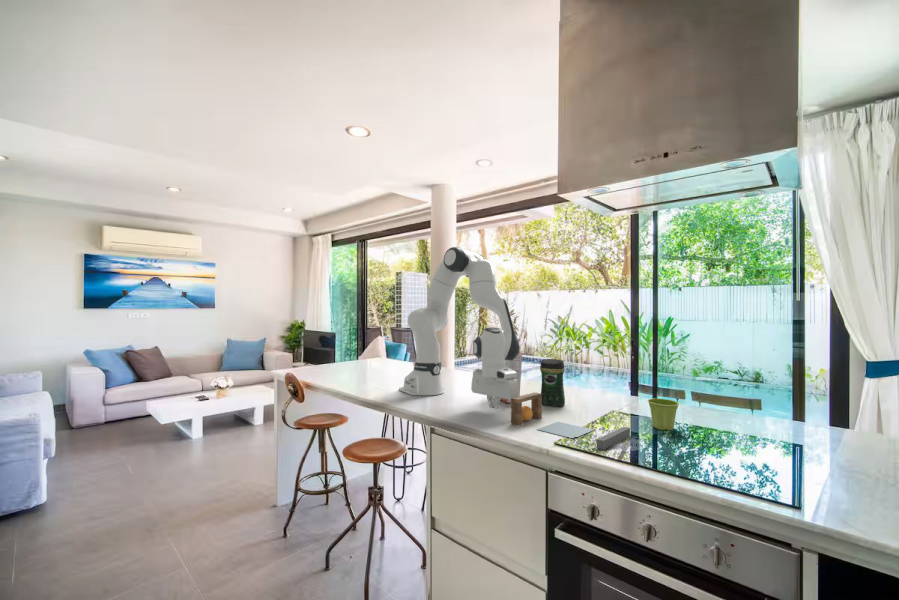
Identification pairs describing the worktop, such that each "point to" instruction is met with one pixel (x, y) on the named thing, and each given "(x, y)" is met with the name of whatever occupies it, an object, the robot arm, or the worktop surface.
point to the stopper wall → (613, 438)
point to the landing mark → (565, 430)
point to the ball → (526, 413)
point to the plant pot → (663, 413)
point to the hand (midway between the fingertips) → (493, 408)
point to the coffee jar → (552, 382)
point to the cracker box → (515, 366)
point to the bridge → (517, 407)
